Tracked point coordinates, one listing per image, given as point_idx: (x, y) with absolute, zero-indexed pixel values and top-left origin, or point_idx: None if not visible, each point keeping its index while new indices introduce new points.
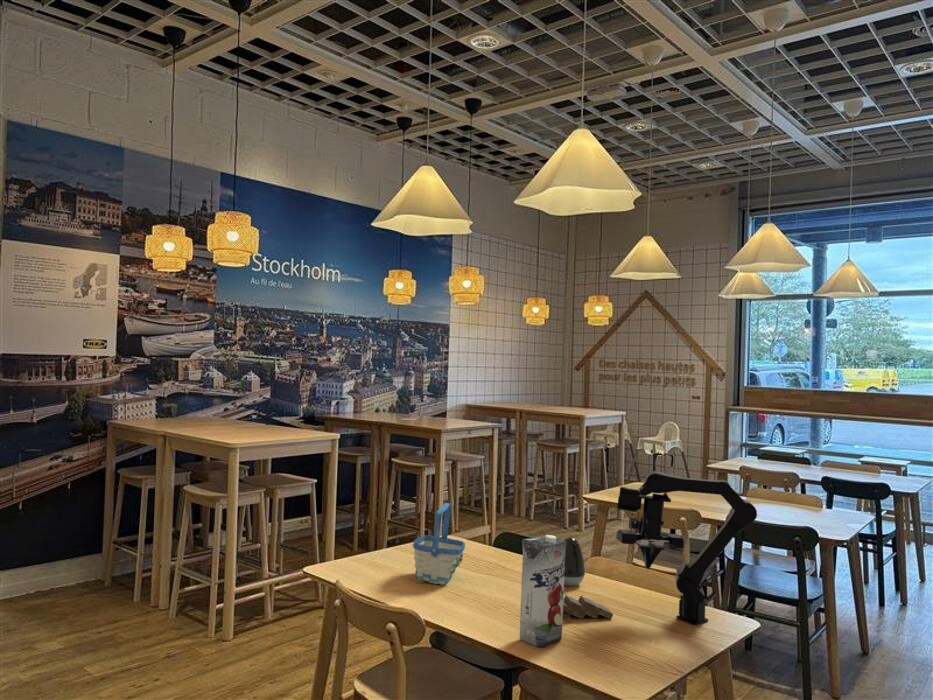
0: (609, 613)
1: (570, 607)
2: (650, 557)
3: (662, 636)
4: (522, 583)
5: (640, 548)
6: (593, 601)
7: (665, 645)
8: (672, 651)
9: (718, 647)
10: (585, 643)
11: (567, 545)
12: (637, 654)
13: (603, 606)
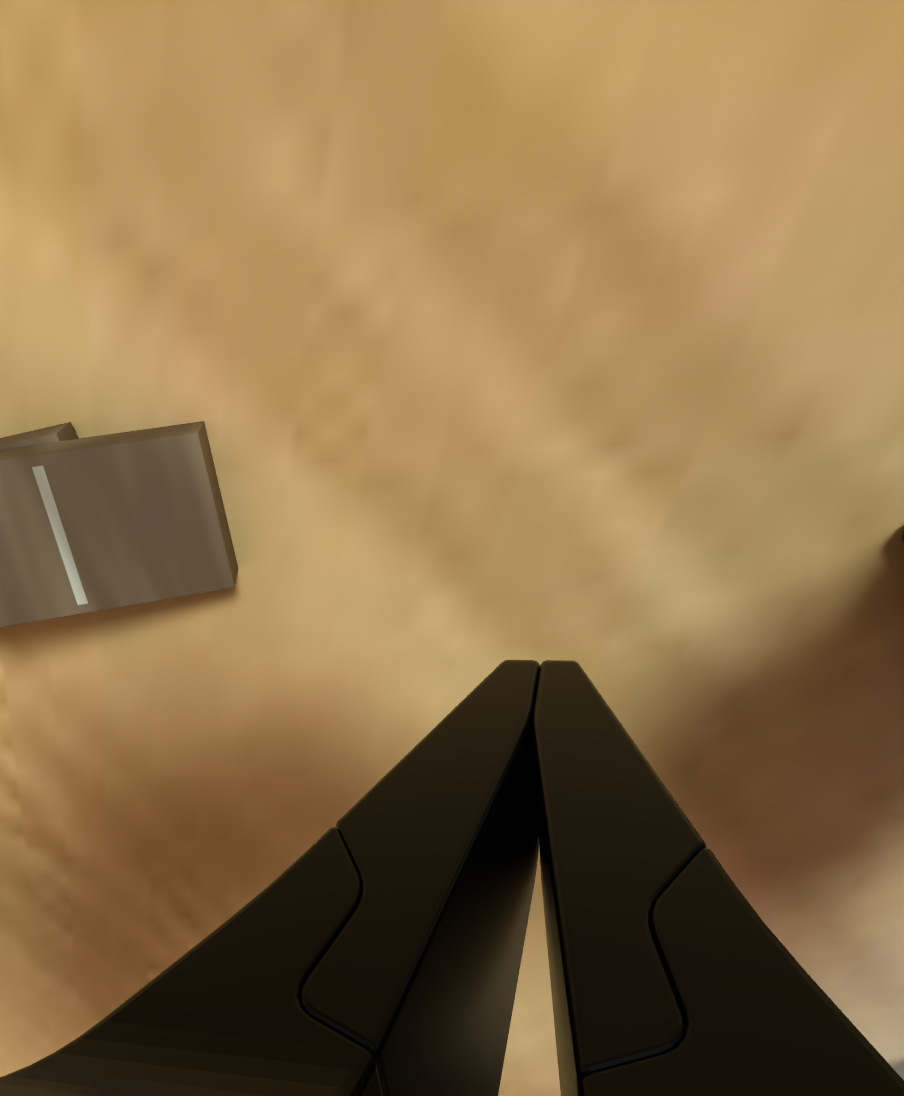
0: (199, 589)
1: None
2: (558, 1039)
3: None
4: None
5: (57, 1072)
6: (24, 459)
7: (523, 984)
8: (536, 1048)
9: (897, 1059)
10: (77, 905)
11: None
12: None
13: (144, 455)
